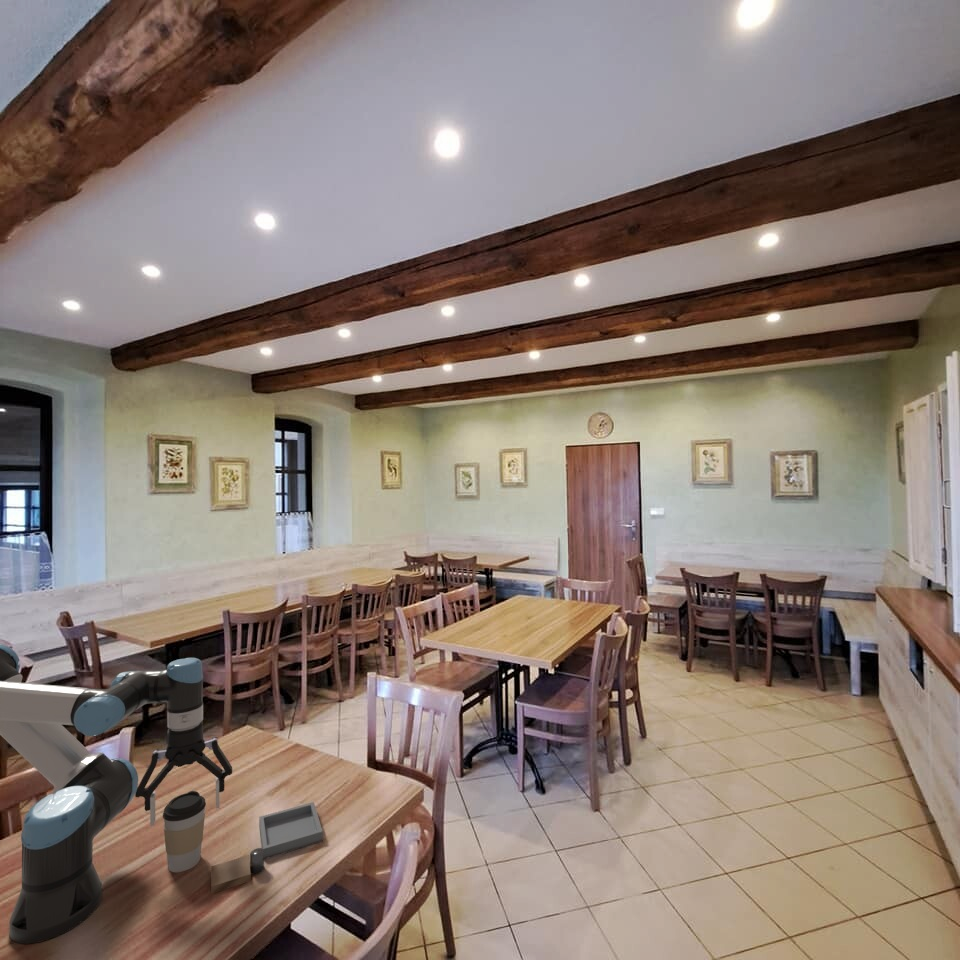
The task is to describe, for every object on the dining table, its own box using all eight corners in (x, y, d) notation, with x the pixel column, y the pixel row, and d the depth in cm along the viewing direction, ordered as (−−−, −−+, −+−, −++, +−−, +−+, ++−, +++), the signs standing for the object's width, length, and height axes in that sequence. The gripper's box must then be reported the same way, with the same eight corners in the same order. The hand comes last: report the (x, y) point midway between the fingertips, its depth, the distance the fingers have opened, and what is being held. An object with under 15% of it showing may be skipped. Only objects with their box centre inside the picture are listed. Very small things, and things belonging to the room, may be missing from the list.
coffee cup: (186, 878, 118) (186, 812, 118) (152, 873, 119) (153, 808, 120) (214, 851, 127) (214, 790, 127) (182, 846, 128) (183, 786, 129)
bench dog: (250, 876, 118) (250, 858, 118) (249, 867, 121) (249, 850, 121) (264, 871, 120) (264, 854, 120) (263, 863, 122) (263, 846, 122)
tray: (263, 859, 124) (263, 849, 124) (259, 826, 136) (259, 816, 136) (322, 841, 130) (322, 831, 130) (313, 811, 142) (313, 802, 142)
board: (211, 895, 113) (211, 886, 113) (211, 874, 119) (211, 866, 119) (250, 882, 117) (250, 874, 117) (248, 863, 123) (248, 854, 123)
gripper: (120, 743, 115) (121, 839, 114) (242, 719, 126) (243, 806, 126) (126, 730, 122) (126, 820, 121) (241, 708, 133) (242, 791, 132)
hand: (186, 813), depth 123 cm, fingers open, 13 cm apart
